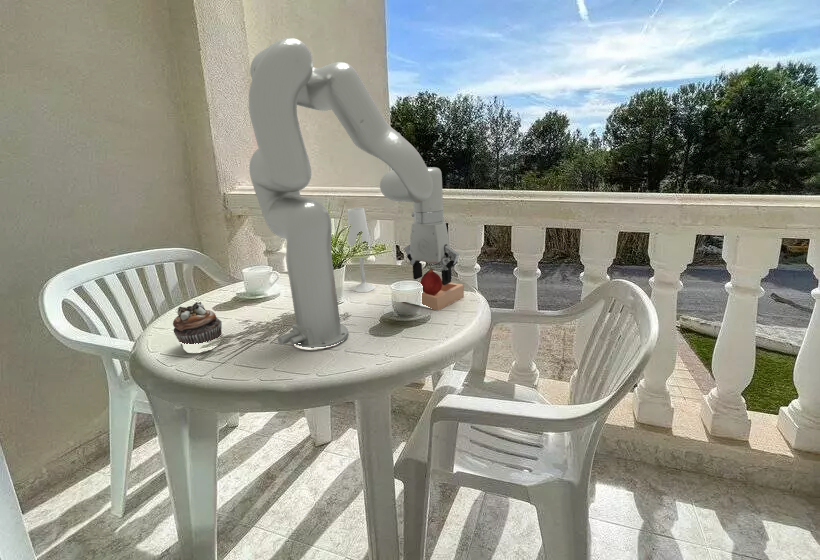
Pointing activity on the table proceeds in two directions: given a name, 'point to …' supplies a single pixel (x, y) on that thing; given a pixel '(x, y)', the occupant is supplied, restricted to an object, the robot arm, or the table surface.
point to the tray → (444, 296)
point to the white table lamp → (360, 224)
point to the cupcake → (196, 324)
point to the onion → (431, 282)
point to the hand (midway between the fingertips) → (432, 280)
